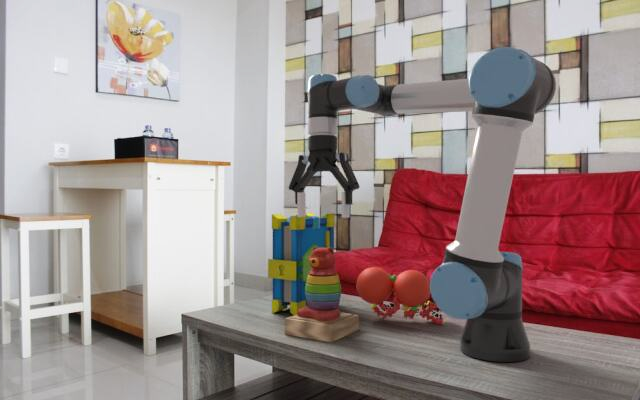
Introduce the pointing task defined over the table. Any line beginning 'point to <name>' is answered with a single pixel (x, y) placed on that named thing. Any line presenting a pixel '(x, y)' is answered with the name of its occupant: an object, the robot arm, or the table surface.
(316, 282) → the stacking bear
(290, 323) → the oak stand
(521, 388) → the table surface
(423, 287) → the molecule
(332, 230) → the decorative book
